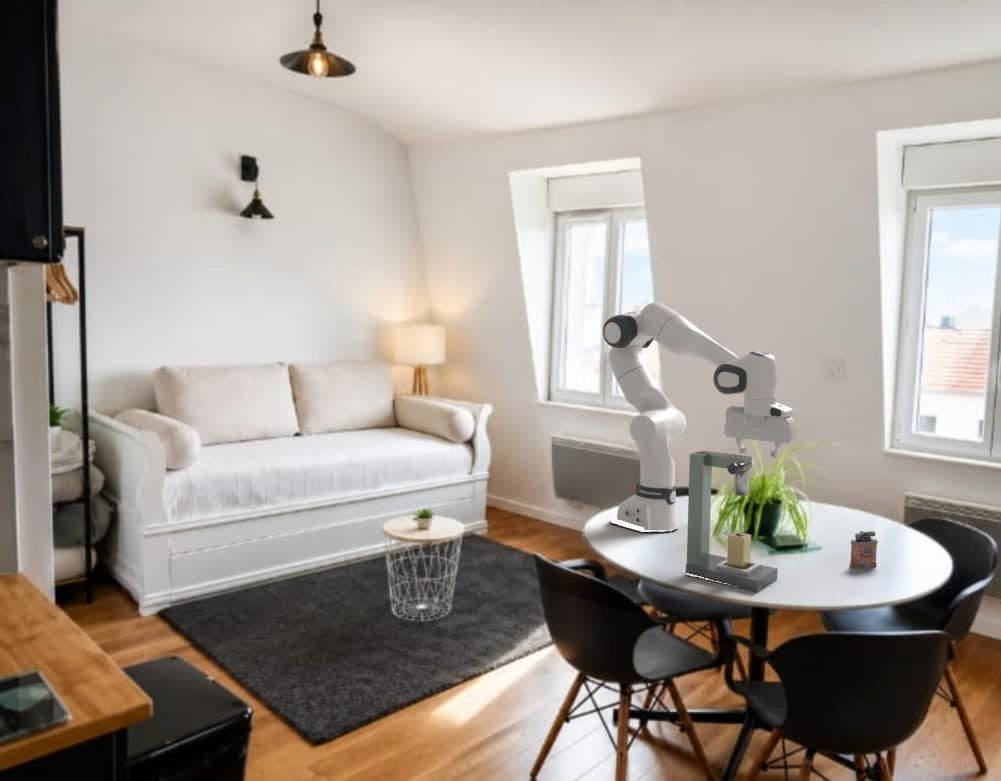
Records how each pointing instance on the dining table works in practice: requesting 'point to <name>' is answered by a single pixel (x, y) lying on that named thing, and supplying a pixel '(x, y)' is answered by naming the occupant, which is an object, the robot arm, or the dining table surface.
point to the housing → (739, 550)
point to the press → (700, 522)
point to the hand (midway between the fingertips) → (758, 455)
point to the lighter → (863, 550)
